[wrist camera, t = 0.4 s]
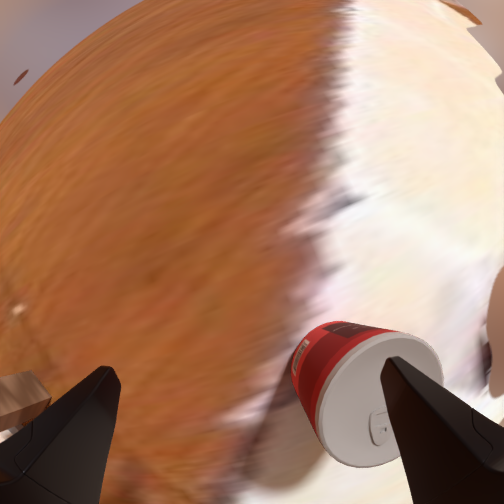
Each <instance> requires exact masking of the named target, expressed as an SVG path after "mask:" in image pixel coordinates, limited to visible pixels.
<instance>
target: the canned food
mask: <svg viewBox="0 0 504 504" xmlns="http://www.w3.org/2000/svg"><path fill="white" fill-rule="evenodd" d="M392 356H400V357H401V358H403V359H404V360H406V361H407V362H408V363H410V364H411V365H413V366H414V367H415V368H417V369H418V370H420V371H421V372H423V373H424V374H425V375H427V376H428V377H430V378H431V379H432V380H434V381H435V382H437V383H438V384H440V385H441V386H442V387H443V382H444V377H443V371H442V366H441V363H440V360H439V358H438V356H437V354H436V353H435V351H434V350H433V348H432V347H431V346H430V345H429V344H427V343H426V342H425V341H424V340H422V339H420V338H418V337H415V336H413V335H411V334H408V333H402V332H399V331H393V330H388V329H382V328H376V327H371V326H365V325H360V324H354V323H349V322H344V321H333V322H329V323H325V324H323V325H320V326H318V327H316V328H315V329H313V330H312V331H311V332H309V333H308V334H307V335H306V336H305V337H304V338H303V339H302V341H301V342H300V344H299V345H298V347H297V349H296V351H295V353H294V356H293V360H292V364H291V377H292V383H293V385H294V388H295V391H296V393H297V395H298V397H299V399H300V401H301V404H302V406H303V408H304V410H305V412H306V414H307V416H308V419H309V421H310V423H311V425H312V427H313V429H314V431H315V433H316V435H317V437H318V439H319V441H320V442H321V444H322V445H323V447H324V448H325V450H326V451H327V452H328V453H329V455H330V456H332V457H333V458H334V459H335V460H337V461H338V462H340V463H342V464H344V465H347V466H351V467H356V468H370V467H375V466H379V465H383V464H385V463H388V462H390V461H393V460H394V459H396V458H398V457H400V456H401V455H400V452H399V449H398V445H397V442H396V439H395V436H394V432H393V429H392V426H391V423H390V420H389V417H388V412H387V408H386V403H385V398H384V394H383V389H382V385H381V381H380V374H381V371H382V368H383V366H384V363H385V361H386V359H387V358H388V357H392Z"/></svg>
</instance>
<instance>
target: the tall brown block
mask: <svg viewBox="0 0 504 504" xmlns="http://www.w3.org/2000/svg"><path fill="white" fill-rule="evenodd" d="M51 397H52V396H51V395H50V394H49V393H48V391H47V390H46V389H45V388H44V386H43V385H42V384H41V382H40V381H39V380H38V378H37V377H36V376H35V374H34V373H33V372H32V370H30V371H26V372H22V373H17V374H13V375H8V376H4V377H0V432H3V431H5V430H8V429H10V428H12V427H15V426H17V425H19V424H22V423H24V422H26V421H29V420H31V419H33V418H35V417H37V416H38V415H39V414H41V413H42V412H43V411H44V410H45V408H46V406H47V405H48V403H49V401H50V399H51Z"/></svg>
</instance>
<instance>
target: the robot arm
mask: <svg viewBox="0 0 504 504" xmlns="http://www.w3.org/2000/svg"><path fill="white" fill-rule="evenodd" d="M380 381H381V385H382V389H383V394H384V398H385V403H386V408H387V412H388V417H389V420H390V423H391V426H392V429H393V432H394V436H395V439H396V442H397V445H398V449H399V452H400V455H401V459H402V462H403V466H404V469H405V473H406V476H407V480H408V484H409V488H410V492H411V496H412V500H413V504H504V427H502V426H500V425H498V424H497V423H495V422H493V421H492V420H490V419H488V418H487V417H485V416H484V415H482V414H481V413H479V412H478V411H476V410H475V409H474V408H471V406H469V405H468V404H466V403H465V402H464V401H462V400H461V399H459V398H458V397H457V396H455V395H454V394H452V393H451V392H449V391H448V390H447V389H445V388H444V387H442V386H441V385H440V384H438V383H437V382H435V381H434V380H432V379H431V378H430V377H428V376H427V375H425V374H424V373H423V372H421V371H420V370H418V369H417V368H415V367H414V366H413V365H411V364H410V363H408V362H407V361H406V360H404V359H403V358H401V357H400V356H392V357H388V358H387V359H386V361H385V363H384V366H383V368H382V371H381V374H380ZM120 391H121V383H120V381H119V379H118V377H117V375H116V373H115V371H114V369H113V368H112V367H110V366H100V367H98V368H97V369H96V370H95V371H93V372H92V373H91V374H90V375H88V376H87V377H86V378H84V379H83V380H82V381H81V382H79V383H78V384H77V385H76V386H74V387H73V388H72V389H71V390H69V391H68V392H67V393H66V394H64V395H63V396H62V397H61V398H59V399H58V400H57V401H56V402H54V403H53V404H52V405H51V406H49V407H48V408H47V409H46V410H44V411H43V412H42V413H41V414H39V415H38V416H37V417H36V418H34V419H33V421H31V422H29V423H28V424H27V425H26V426H24V427H23V428H22V429H20V430H19V431H18V432H16V433H15V434H13V435H12V436H10V437H9V438H7V439H6V440H4V441H3V442H1V443H0V504H99V499H100V493H101V488H102V482H103V477H104V472H105V467H106V463H107V458H108V454H109V449H110V445H111V441H112V437H113V433H114V428H115V424H116V417H117V410H118V404H119V397H120Z"/></svg>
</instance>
